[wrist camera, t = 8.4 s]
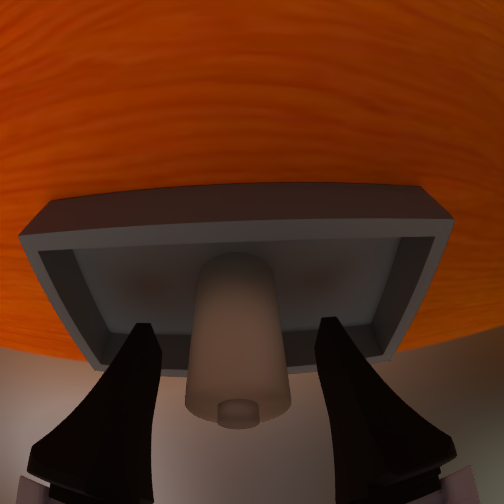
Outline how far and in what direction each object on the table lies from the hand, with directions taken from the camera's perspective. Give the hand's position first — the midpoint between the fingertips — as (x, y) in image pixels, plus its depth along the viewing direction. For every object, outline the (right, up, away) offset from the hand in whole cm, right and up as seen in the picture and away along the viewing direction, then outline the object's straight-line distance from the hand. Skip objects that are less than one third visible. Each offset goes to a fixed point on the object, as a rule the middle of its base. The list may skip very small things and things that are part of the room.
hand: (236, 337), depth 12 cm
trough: (0, +2, +3) cm, 4 cm away
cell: (0, +2, +3) cm, 3 cm away
